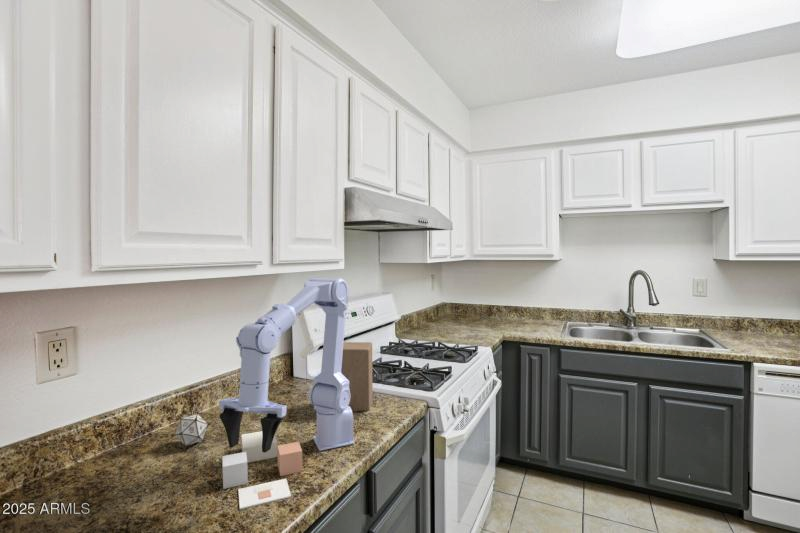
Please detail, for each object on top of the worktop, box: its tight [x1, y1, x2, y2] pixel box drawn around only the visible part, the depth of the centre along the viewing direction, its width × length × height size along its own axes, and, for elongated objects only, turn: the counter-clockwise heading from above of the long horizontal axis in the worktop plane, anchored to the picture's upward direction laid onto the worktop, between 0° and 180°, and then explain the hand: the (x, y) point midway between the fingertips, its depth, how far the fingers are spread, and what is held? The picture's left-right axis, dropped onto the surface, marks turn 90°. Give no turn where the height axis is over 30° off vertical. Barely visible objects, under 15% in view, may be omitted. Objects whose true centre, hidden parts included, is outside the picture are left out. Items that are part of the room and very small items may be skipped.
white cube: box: [222, 451, 249, 490], centre depth 91 cm, size 5×5×5 cm
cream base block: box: [241, 430, 278, 464], centre depth 104 cm, size 8×8×4 cm
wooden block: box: [341, 341, 374, 412], centre depth 134 cm, size 10×10×20 cm
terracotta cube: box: [277, 441, 304, 477], centre depth 96 cm, size 5×5×5 cm
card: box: [238, 478, 292, 510], centre depth 86 cm, size 10×7×1 cm
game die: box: [171, 410, 213, 451], centre depth 108 cm, size 9×8×10 cm
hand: (249, 448), depth 84 cm, fingers open, 7 cm apart
